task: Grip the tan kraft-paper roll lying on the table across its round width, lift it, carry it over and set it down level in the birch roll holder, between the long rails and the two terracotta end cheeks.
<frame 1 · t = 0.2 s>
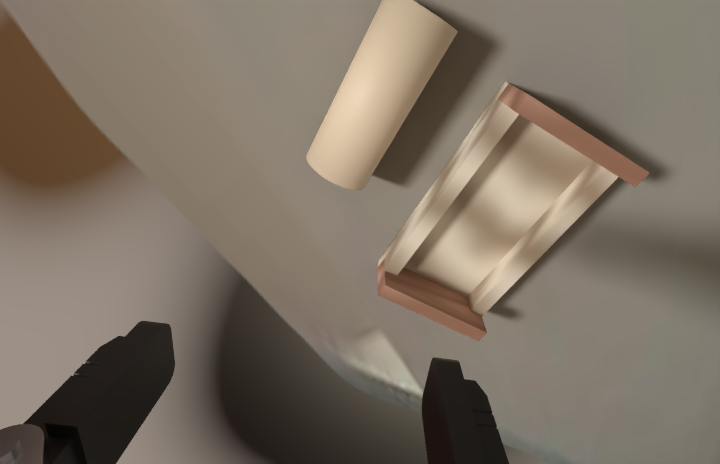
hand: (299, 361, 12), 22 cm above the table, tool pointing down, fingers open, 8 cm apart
roll holder: (483, 211, 32), on the table
paper roll: (375, 98, 26), point 2 cm above the table
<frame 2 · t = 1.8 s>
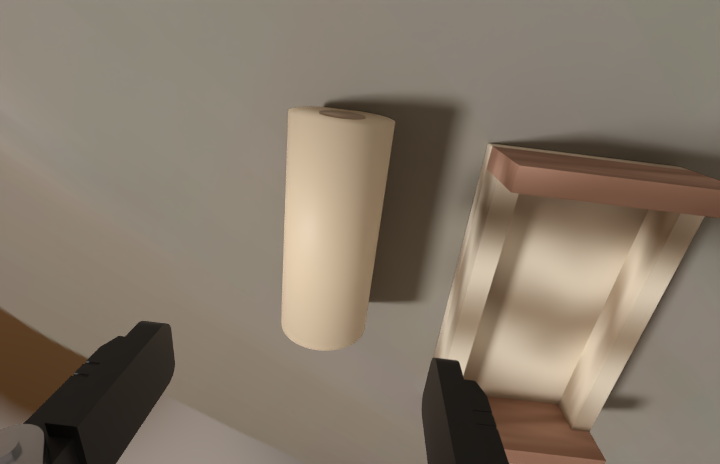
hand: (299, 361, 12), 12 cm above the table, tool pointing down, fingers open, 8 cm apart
roll holder: (532, 297, 24), on the table
paper roll: (331, 230, 20), point 2 cm above the table
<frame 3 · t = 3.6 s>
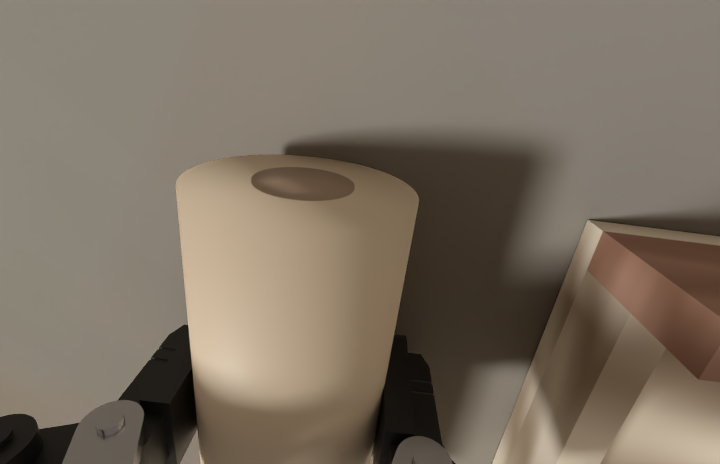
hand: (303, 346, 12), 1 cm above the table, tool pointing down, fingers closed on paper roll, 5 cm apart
roll holder: (635, 456, 14), on the table
paper roll: (292, 388, 11), point 2 cm above the table, touching gripper
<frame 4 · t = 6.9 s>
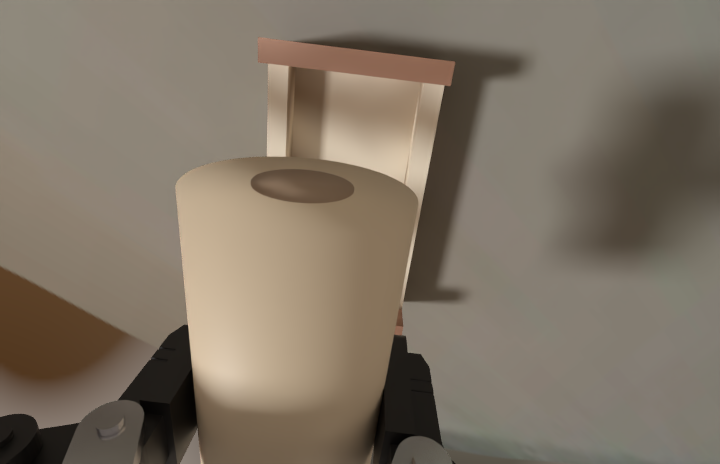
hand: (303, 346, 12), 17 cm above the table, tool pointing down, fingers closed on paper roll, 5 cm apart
roll holder: (346, 189, 28), on the table
paper roll: (292, 389, 11), point 19 cm above the table, touching gripper
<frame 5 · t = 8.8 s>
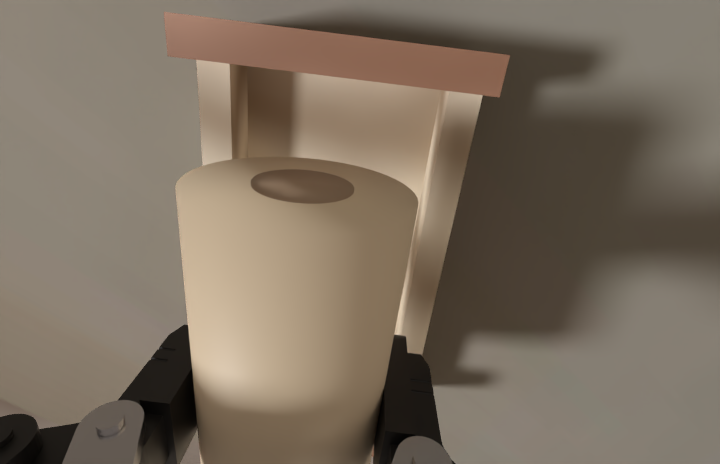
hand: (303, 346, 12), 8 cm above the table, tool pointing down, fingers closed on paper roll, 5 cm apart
roll holder: (330, 241, 19), on the table
paper roll: (292, 389, 11), point 10 cm above the table, touching gripper
when the fingers open (3 cm above the table, at t = 10.5 s): paper roll drops 1 cm, resting on roll holder.
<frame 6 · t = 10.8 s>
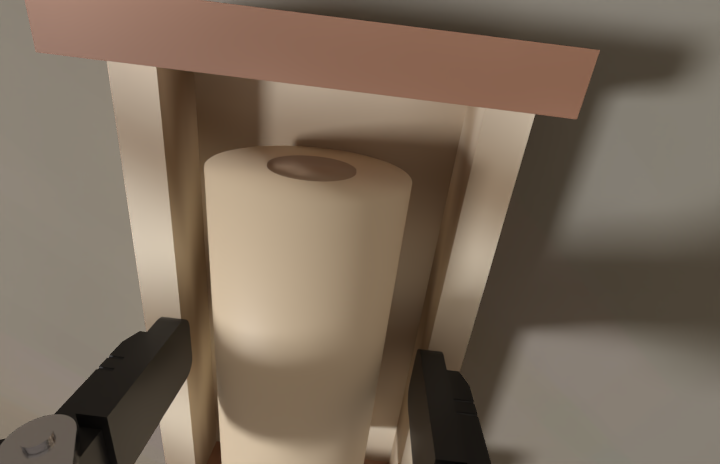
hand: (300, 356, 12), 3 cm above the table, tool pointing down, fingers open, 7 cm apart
roll holder: (317, 296, 15), on the table
paper roll: (301, 354, 12), point 3 cm above the table, touching roll holder
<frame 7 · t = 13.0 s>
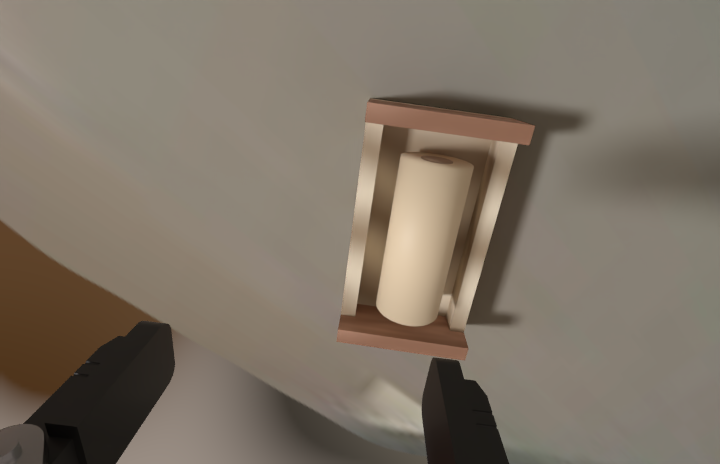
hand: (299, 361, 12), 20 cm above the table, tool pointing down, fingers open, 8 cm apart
roll holder: (417, 223, 31), on the table
paper roll: (420, 239, 28), point 3 cm above the table, touching roll holder
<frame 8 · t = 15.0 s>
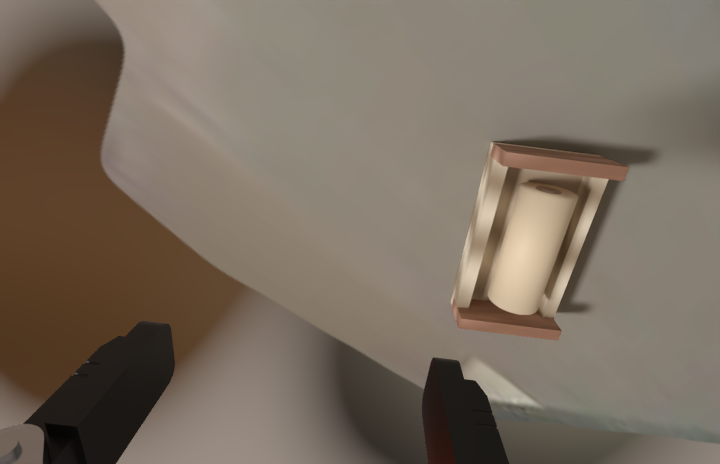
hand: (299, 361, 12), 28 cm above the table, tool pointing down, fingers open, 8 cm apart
roll holder: (517, 235, 40), on the table
paper roll: (529, 248, 37), point 3 cm above the table, touching roll holder
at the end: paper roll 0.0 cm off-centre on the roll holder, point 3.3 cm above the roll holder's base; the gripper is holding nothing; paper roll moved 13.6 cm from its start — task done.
